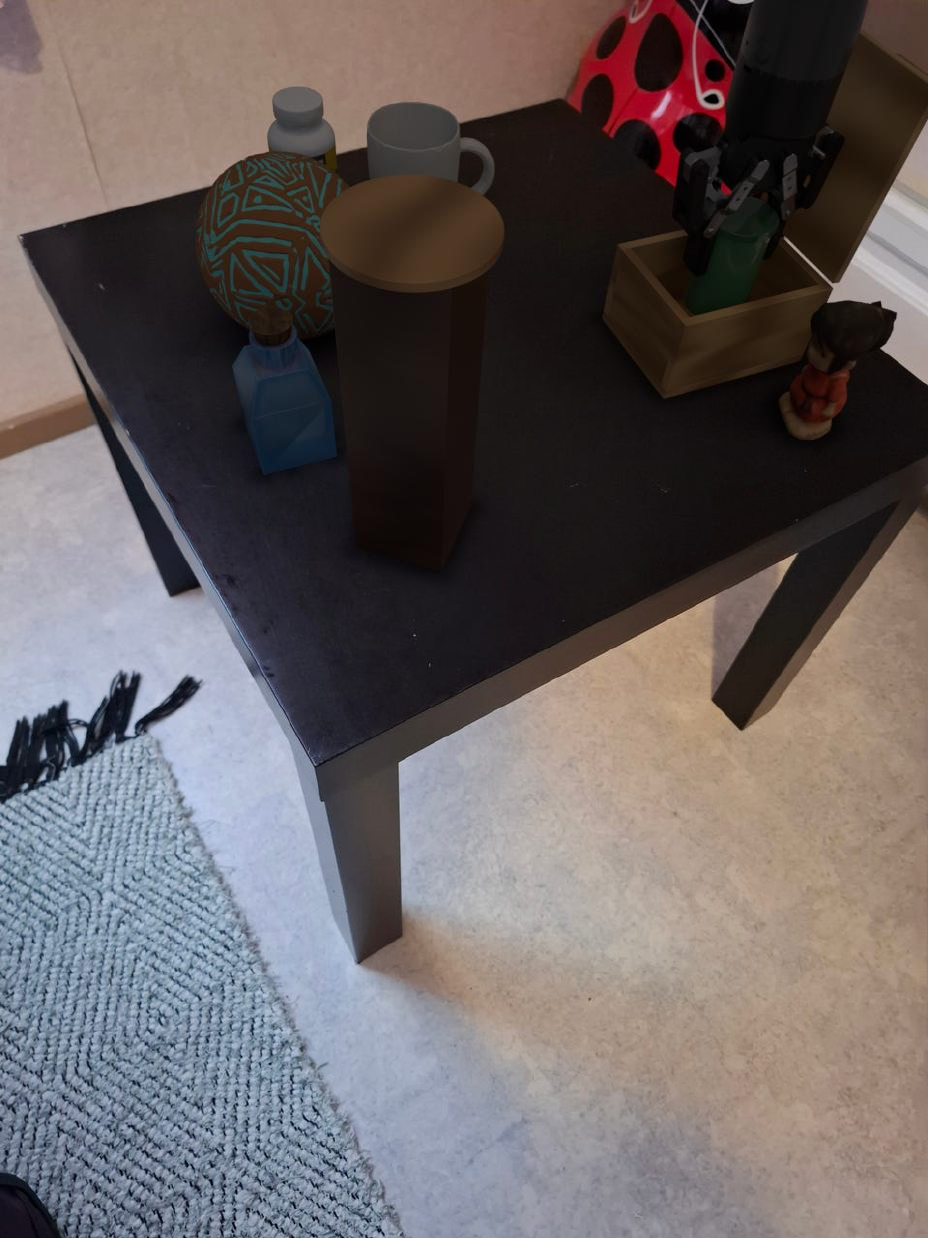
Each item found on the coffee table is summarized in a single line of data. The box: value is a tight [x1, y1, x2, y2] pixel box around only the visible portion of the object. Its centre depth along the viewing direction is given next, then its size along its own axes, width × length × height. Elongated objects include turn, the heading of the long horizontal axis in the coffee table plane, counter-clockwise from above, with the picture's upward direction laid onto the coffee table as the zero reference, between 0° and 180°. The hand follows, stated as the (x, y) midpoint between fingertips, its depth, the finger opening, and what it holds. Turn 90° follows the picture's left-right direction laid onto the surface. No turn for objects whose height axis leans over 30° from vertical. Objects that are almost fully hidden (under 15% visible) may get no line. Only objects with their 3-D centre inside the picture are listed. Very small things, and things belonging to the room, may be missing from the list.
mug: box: [366, 101, 495, 197], centre depth 87 cm, size 13×9×10 cm
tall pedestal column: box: [320, 175, 505, 574], centre depth 58 cm, size 10×10×26 cm
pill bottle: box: [266, 86, 339, 175], centre depth 86 cm, size 6×6×12 cm
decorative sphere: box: [195, 151, 351, 341], centre depth 75 cm, size 15×15×15 cm
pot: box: [683, 193, 779, 316], centre depth 76 cm, size 6×6×8 cm
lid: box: [759, 28, 928, 285], centre depth 72 cm, size 16×12×5 cm
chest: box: [601, 229, 834, 400], centre depth 80 cm, size 15×12×8 cm
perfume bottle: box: [231, 307, 338, 476], centre depth 68 cm, size 6×6×12 cm
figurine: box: [778, 299, 898, 441], centre depth 73 cm, size 6×6×12 cm
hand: (726, 261), depth 76 cm, fingers closed on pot, 6 cm apart
